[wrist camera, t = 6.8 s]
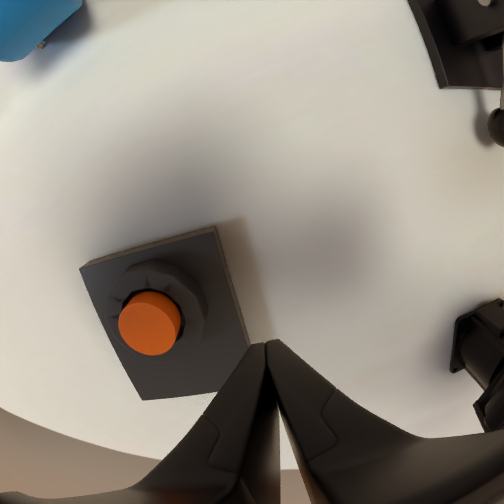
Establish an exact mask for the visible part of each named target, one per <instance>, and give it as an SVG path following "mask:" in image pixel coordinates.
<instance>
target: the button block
mask: <svg viewBox="0 0 504 504" xmlns="http://www.w3.org/2000/svg"><path fill="white" fill-rule="evenodd" d="M79 270H80V273H81V275H82V278H83V281H84V283H85V286H86V288H87V291H88V293H89V295H90V298H91V300H92V303H93V305H94V307H95V309H96V312H97V314H98V316H99V318H100V321H101V323H102V325H103V327H104V329H105V331H106V333H107V336H108V338H109V340H110V342H111V344H112V346H113V348H114V350H115V352H116V354H117V356H118V358H119V360H120V361H121V363H122V365H123V367H124V369H125V371H126V373H127V375H128V376H129V378H130V380H131V382H132V384H133V385H134V387H135V389H136V391H137V392H138V394H139V396H140V397H141V399H142V400H155V399H165V398H174V397H183V396H191V395H198V394H205V393H212V392H218V391H219V390H220V389H221V387H222V386H223V385H224V383H225V382H226V380H227V379H228V377H229V376H230V375H231V373H232V372H233V370H234V369H235V367H236V366H237V365H238V363H239V362H240V360H241V359H242V357H243V356H244V354H245V353H246V351H247V350H248V349H249V347H250V346H251V343H250V340H249V337H248V334H247V330H246V327H245V324H244V321H243V317H242V314H241V311H240V307H239V304H238V301H237V297H236V294H235V291H234V287H233V284H232V281H231V277H230V274H229V270H228V267H227V264H226V260H225V257H224V253H223V250H222V246H221V243H220V239H219V236H218V232H217V229H216V226H213V227H209V228H206V229H202V230H198V231H194V232H191V233H187V234H183V235H180V236H176V237H172V238H169V239H165V240H161V241H158V242H154V243H151V244H147V245H144V246H140V247H137V248H133V249H130V250H126V251H123V252H119V253H116V254H112V255H109V256H106V257H102V258H99V259H96V260H92V261H89V262H88V263H86V264H85V265H83V266H82V267H81V268H79ZM144 291H155V292H159V293H161V294H163V295H165V296H167V297H168V298H170V299H171V300H172V301H173V302H174V303H175V305H176V306H177V308H178V310H179V312H180V315H181V326H180V329H179V332H178V334H177V337H176V340H175V342H174V344H173V346H172V347H171V348H170V349H169V350H168V351H167V352H165V353H163V354H160V355H146V354H142V353H140V352H138V351H136V350H134V349H133V348H131V347H130V346H129V345H128V344H127V343H126V342H125V341H124V339H123V338H122V336H121V334H120V331H119V326H118V321H119V316H120V314H121V312H122V311H123V309H124V308H125V307H126V305H127V304H128V303H129V301H130V300H131V299H132V298H133V297H134V296H135V295H136V294H138V293H141V292H144Z"/></svg>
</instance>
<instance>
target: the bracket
mask: <svg viewBox="0 0 504 504" xmlns="http://www.w3.org/2000/svg"><path fill="white" fill-rule="evenodd" d="M408 2H409V4H410V6H411V9H412V11H413V13H414V16H415V18H416V20H417V23H418V25H419V28H420V30H421V33H422V36H423V38H424V41H425V44H426V46H427V49H428V52H429V55H430V58H431V61H432V64H433V67H434V70H435V74H436V77H437V80H438V84H439V88H468V89H494V90H501V85H502V31H504V0H408Z"/></svg>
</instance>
